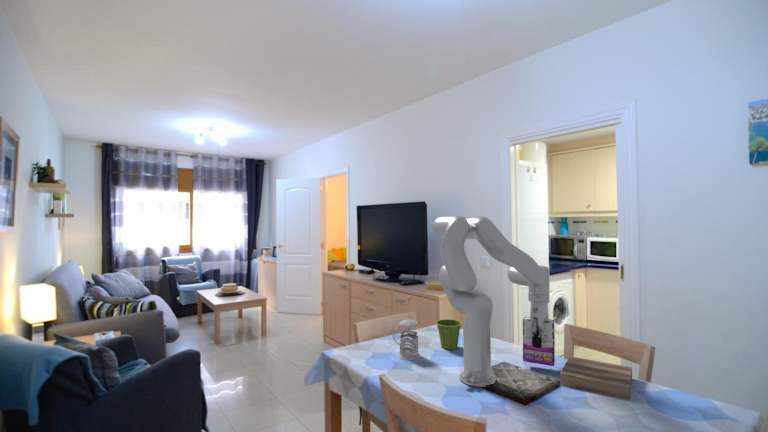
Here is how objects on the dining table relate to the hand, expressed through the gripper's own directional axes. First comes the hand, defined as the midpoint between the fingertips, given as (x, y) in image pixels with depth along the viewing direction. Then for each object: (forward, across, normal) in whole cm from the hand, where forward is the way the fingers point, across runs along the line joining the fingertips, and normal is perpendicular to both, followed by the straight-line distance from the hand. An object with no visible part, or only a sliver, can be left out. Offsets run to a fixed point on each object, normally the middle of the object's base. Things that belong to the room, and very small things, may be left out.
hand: (538, 344), depth 143 cm
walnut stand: (+9, -1, -20) cm, 22 cm away
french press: (+11, -16, +49) cm, 53 cm away
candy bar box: (+7, 0, 0) cm, 7 cm away
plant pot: (+10, +4, +39) cm, 41 cm away
